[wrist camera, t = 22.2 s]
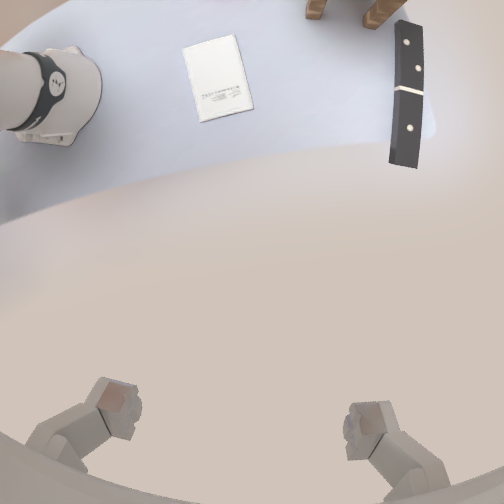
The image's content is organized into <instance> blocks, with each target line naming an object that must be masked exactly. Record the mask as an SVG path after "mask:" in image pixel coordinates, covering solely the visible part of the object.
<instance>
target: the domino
mask: <svg viewBox="0 0 504 504" xmlns="http://www.w3.org/2000/svg"><path fill="white" fill-rule="evenodd" d="M423 54H424V53H423V29H422V26H419V25H416V24H413V23H410V22H407V21H404V20H399V21H397V22H396V23H395V87H394V108H393V123H392V135H391V145H390V156H389V163H391V164H395V165H400V166H406V167H411V168H416V169H417V165H418V158H419V149H420V138H421V126H422V111H423V95H424V92H423V85H424V55H423Z"/></svg>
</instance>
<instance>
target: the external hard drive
mask: <svg viewBox="0 0 504 504" xmlns="http://www.w3.org/2000/svg"><path fill="white" fill-rule="evenodd" d="M182 51H183V55H184V59H185V63H186V68H187V72H188V76H189V80H190V84H191V88H192V92H193V96H194V100H195V104H196V108H197V112H198V116H199V120H200V122H204V121H208V120H211V119H215V118H219V117H222V116H226V115H230V114H235V113H239V112H243V111H247V110H252V109H254V107H253V103H252V98H251V94H250V90H249V86H248V82H247V78H246V75H245V71H244V67H243V63H242V59H241V55H240V52H239V48H238V44H237V41H236V37H235V35H234V34H233V35H228V36H224V37H220V38H217V39H213V40H210V41H206V42H202V43H199V44H196V45H193V46H189V47H187V48H184V49H182Z"/></svg>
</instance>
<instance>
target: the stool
mask: <svg viewBox="0 0 504 504" xmlns="http://www.w3.org/2000/svg"><path fill="white" fill-rule="evenodd" d="M406 1H407V0H377V1H376V2H375V3H374V4H373V6H372V7H371V8H370V9H369V10H368V12H367V13H366V14H365V15H364V16H363V27H364V28H369V29H373V30H376V29H377V28H378V27H379V26H380V25H381V24H382V23H383V22H384V21H385V20H386V19H388V18H389V17H390V16H391V15H392V14H393V13H394V12H395V11H396V10H397V9H398V8H400V7H401V6H402V5H403V4H404V3H405V2H406ZM326 2H327V0H308V3H307V6H306V19H315V20H319V19H320V16H321V14H322V11H323V9H324V7H325V4H326Z"/></svg>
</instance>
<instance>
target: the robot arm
mask: <svg viewBox="0 0 504 504" xmlns="http://www.w3.org/2000/svg"><path fill="white" fill-rule="evenodd" d="M101 88H102V83H101V76H100V72H99V70H98V68H97V66H96V65H95V64H94V62H92V61H91V60H90V59H88V58H86V57H84V56H83V55H82V53H81V51H80V50H79V48H78V47H77V46H70V47H68V48H66V49H64V50H58V49H51V48H50V49H46V51H44V52H42V53H38V52H25V53H16V52H10V51H4V50H0V130H4V129H6V130H7V131H8V132H15V135H16V138H17V139H18V140H21V142H39V143H47V144H55V145H62V146H69V145H71V144H72V143H73V141H74V139H75V137H76V135H77V133H78V131H79V130H80V129H81V128H82V127H83V126H84V125H85V124H86V123H87V122H88V121H89V120H90V118H91V117H92V115H93V114H94V112H95V110H96V108H97V106H98V103H99V100H100V96H101ZM62 137H63V140H62ZM137 393H138V388H137V386H136V385H133V384H129V383H124V382H121V381H117V380H112V379H109V378H105V377H101V378H99V379H98V381H97V382H96V384H95V385H94V387H93V389H92V390H91V392H90V394H89V395H88V397H87V399H86V400H85V402H84V404H83V403H80V404H78V405H75V406H73V407H71V408H70V409H68V410H66V411H64V412H62V413H60V414H58V415H56V416H54V417H52V418H50V419H48V420H46V421H44V422H42V423H39V424H38V425H37V426H36V428H35V430H34V431H33V433H32V434H31V436H30V437H29V439H28V441H27V442H26V444H25V445H23V444H21V443H19V442H17V441H16V440H14V439H12V438H10V437H9V436H7V435H5V434H4V433H2V432H0V504H199V503H193V502H187V501H182V500H177V499H172V498H167V497H162V496H158V495H154V494H150V493H146V492H142V491H138V490H134V489H131V488H128V487H124V486H121V485H118V484H114V483H112V482H109V481H105V480H103V479H100V478H97V477H94V476H91V475H88V474H87V472H88V469H87V467H86V466H85V465H84V463H83V462H82V461H81V459H82V458H83V457H84V456H86V455H88V454H89V453H90V452H92V451H93V450H94V449H95V448H97V447H99V446H100V445H101V444H103V443H104V442H105V441H106V440H108V439H109V438H111V436H114V437H117V438H121V439H125V440H129V441H130V440H131V438H132V435H133V433H134V430H135V426H134V423H135V422H137V421H138V420H139V418H140V416H141V411H142V402H141V399H140V398H139V397H138V396H137ZM349 412H350V414H349V415H347V416H346V418H345V421H344V426H343V433H344V438H345V439H346V440H347V441H348V443H347V445H346V452H347V457H348V460H364V459H369V462H370V463H371V464H372V465H373V466H374V467H375V468H376V469H377V470H378V472H379V473H380V474H381V475H382V476H383V477H384V478H385V479H386V481H387V482H388V483H389V484H390V485H391V486H392V487H393V489H392V490H391V491H390V493H388V495H387V496H386V497H385V498H384V502H383V503H377V504H504V466H502V467H500V468H498V469H495V470H493V471H491V472H489V473H486V474H484V475H481V476H478V477H476V478H473V479H470V480H467V481H464V482H462V483H458V484H456V485H452V486H451V484H450V481H449V478H448V475H447V473H446V470H445V467H444V464H443V462H442V461H441V460H440V459H439V458H437V457H436V456H435V455H433V454H432V453H431V452H430V451H428V450H427V449H426V448H424V447H423V446H422V445H421V444H419V443H418V442H417V441H415V440H414V439H413V438H412V437H410V436H409V435H408V434H407V433H406V432H404V431H402V432H401V431H400V428H399V425H398V422H397V419H396V416H395V413H394V410H393V407H392V405H391V402H390V401H379V402H361V403H352V404H351V406H350V408H349Z"/></svg>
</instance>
